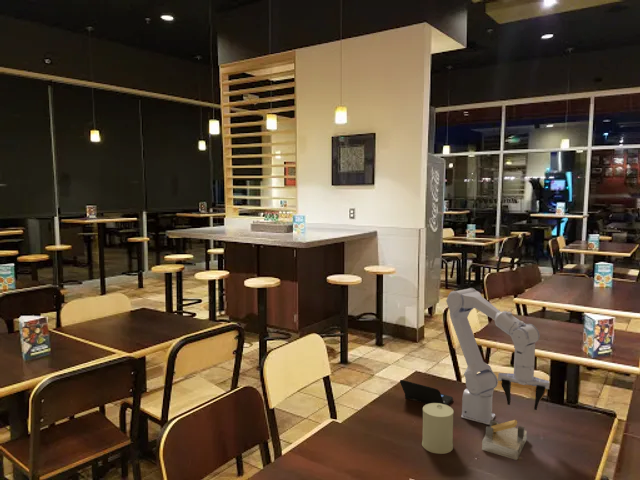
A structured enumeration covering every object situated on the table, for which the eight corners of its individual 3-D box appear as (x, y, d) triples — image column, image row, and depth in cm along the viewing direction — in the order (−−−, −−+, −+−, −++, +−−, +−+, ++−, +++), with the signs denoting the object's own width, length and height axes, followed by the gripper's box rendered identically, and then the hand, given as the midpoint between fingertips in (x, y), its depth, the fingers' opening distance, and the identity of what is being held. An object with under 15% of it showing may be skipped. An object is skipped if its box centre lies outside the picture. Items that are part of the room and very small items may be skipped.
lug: (517, 435, 146) (517, 428, 145) (518, 433, 147) (518, 425, 147) (523, 437, 145) (523, 429, 145) (524, 434, 146) (524, 427, 146)
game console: (454, 400, 177) (454, 377, 176) (438, 415, 166) (438, 390, 165) (415, 389, 186) (416, 367, 185) (398, 402, 175) (398, 379, 174)
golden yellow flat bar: (489, 433, 147) (487, 430, 147) (492, 429, 149) (490, 426, 150) (515, 426, 142) (513, 423, 143) (517, 422, 145) (515, 419, 145)
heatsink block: (481, 449, 144) (482, 432, 143) (493, 431, 154) (493, 415, 154) (517, 460, 138) (517, 442, 137) (526, 440, 149) (527, 423, 148)
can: (453, 440, 149) (454, 403, 148) (451, 456, 140) (452, 417, 139) (423, 435, 152) (424, 399, 151) (420, 450, 143) (420, 412, 142)
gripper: (497, 364, 147) (495, 406, 149) (549, 372, 141) (547, 416, 142) (500, 357, 154) (498, 397, 155) (550, 364, 147) (548, 406, 149)
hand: (522, 406), depth 149 cm, fingers open, 7 cm apart
